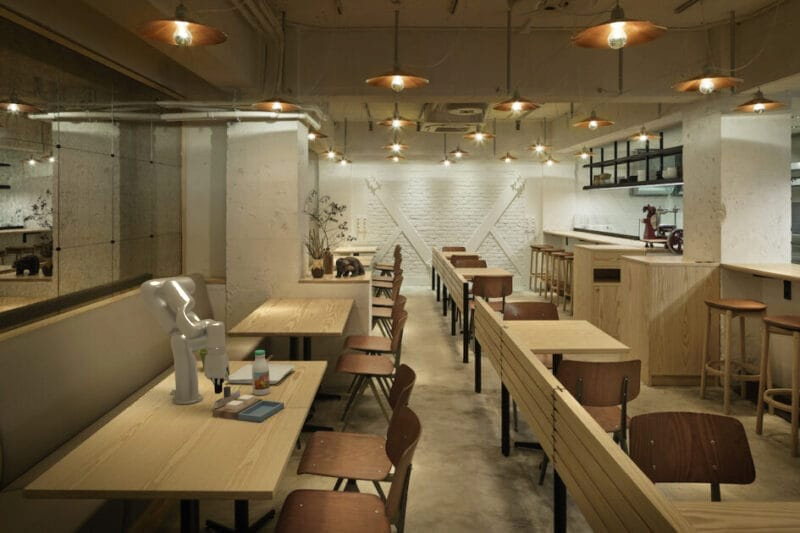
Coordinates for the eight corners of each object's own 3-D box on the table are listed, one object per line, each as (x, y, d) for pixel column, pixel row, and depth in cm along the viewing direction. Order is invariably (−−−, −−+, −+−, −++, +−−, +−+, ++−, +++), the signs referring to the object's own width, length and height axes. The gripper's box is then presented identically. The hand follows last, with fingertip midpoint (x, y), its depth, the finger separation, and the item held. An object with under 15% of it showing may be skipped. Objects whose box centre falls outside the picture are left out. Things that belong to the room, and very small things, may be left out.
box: (237, 419, 241) (237, 413, 241) (262, 405, 258) (262, 400, 258) (260, 422, 238) (260, 416, 238) (284, 408, 255) (284, 402, 254)
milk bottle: (249, 394, 274) (247, 352, 272) (259, 389, 281) (257, 348, 279) (263, 396, 271) (261, 353, 269) (273, 391, 278) (271, 349, 276)
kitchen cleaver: (260, 355, 345) (277, 354, 344) (261, 357, 345) (277, 356, 344) (246, 367, 321) (264, 366, 320) (246, 369, 321) (264, 368, 320)
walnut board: (212, 416, 246) (212, 409, 245) (238, 402, 262) (238, 396, 262) (237, 419, 241) (236, 412, 241) (262, 405, 258) (261, 398, 258)
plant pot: (217, 366, 325) (216, 345, 324) (226, 370, 316) (225, 349, 315) (195, 370, 317) (194, 349, 316) (204, 374, 308) (203, 353, 307)
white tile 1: (226, 408, 246) (226, 404, 246) (233, 405, 251) (233, 400, 250) (236, 410, 244) (236, 405, 244) (243, 406, 249) (243, 401, 249)
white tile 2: (237, 402, 253) (237, 398, 253) (244, 399, 258) (244, 394, 258) (247, 403, 252) (247, 399, 251) (254, 400, 256) (254, 395, 256)
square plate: (246, 370, 316) (246, 363, 316) (296, 371, 313) (296, 364, 312) (224, 385, 290) (224, 377, 289) (278, 387, 286) (278, 379, 285)
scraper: (213, 407, 246) (213, 392, 246) (236, 396, 261) (236, 381, 260) (217, 408, 245) (217, 392, 245) (240, 396, 260) (240, 381, 260)
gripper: (196, 351, 252) (198, 394, 253) (225, 354, 247) (228, 397, 248) (207, 347, 259) (209, 389, 260) (236, 349, 254) (238, 391, 255)
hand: (218, 392), depth 254 cm, fingers closed
